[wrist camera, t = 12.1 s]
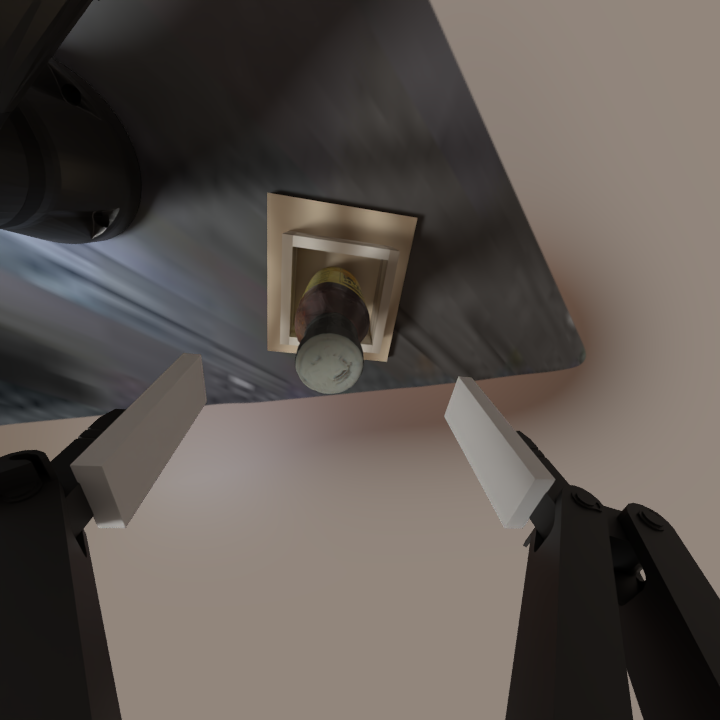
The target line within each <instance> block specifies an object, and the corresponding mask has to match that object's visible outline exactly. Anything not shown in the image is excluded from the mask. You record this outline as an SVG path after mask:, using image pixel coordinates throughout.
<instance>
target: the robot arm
mask: <svg viewBox="0 0 720 720" xmlns="http://www.w3.org/2000/svg"><path fill="white" fill-rule="evenodd" d="M92 1H93V0H0V229H3V230H7V231H11V232H15V233H19V234H23V235H27V236H31V237H35V238H39V239H43V240H47V241H52V242H57V243H65V244H83V243H90V242H98V241H103V240H107V239H110V238H112V237H114V236H116V235H118V234H120V233H121V232H122V231H123V230H125V229H126V228H127V227H128V226H129V224H130V223H131V222H132V220H133V219H134V217H135V215H136V213H137V210H138V207H139V203H140V198H141V176H140V170H139V165H138V161H137V158H136V155H135V152H134V149H133V147H132V144H131V142H130V140H129V137H128V135H127V134H126V132H125V130H124V128H123V126H122V125H121V123H120V121H119V120H118V118H117V117H116V115H115V114H114V113H113V111H112V110H111V108H110V107H109V106H108V105H107V103H106V102H105V101H104V100H103V99H102V98H101V97H100V95H99V94H98V93H97V92H96V91H95V90H94V89H93V88H92V87H91V86H90V85H89V84H87V83H86V82H85V81H84V80H83V79H82V78H80V77H79V76H78V75H77V74H75V73H74V72H73V71H71V70H70V69H68V68H67V67H65V66H64V65H62V64H60V63H59V62H57V61H55V60H53V59H51V57H52V56H53V55H54V53H55V52H56V50H57V49H58V48H59V46H60V45H61V44H62V42H63V41H64V39H65V38H66V37H67V35H68V34H69V33H70V31H71V30H72V28H73V27H74V26H75V24H76V23H77V22H78V20H79V19H80V17H81V16H82V15H83V13H84V12H85V11H86V9H87V8H88V6H89V5H90V4H91V2H92ZM98 1H99V0H98ZM206 402H207V399H206V391H205V383H204V375H203V367H202V359H201V355H199V354H187V353H183V354H182V355H181V356H180V357H179V358H178V359H177V360H176V361H175V362H174V363H173V364H172V365H171V366H170V367H169V368H168V369H167V370H166V371H165V372H164V373H163V374H162V375H161V376H160V377H159V378H158V379H157V380H156V381H155V382H154V383H153V384H152V385H151V386H150V387H149V388H148V389H147V390H146V391H145V392H144V393H143V394H142V395H141V396H140V397H139V398H138V399H137V400H136V401H135V402H134V403H133V404H132V405H131V406H130V407H129V408H127V409H114V410H113V411H111V412H109V413H107V414H105V415H103V416H101V417H100V418H98V419H97V420H96V421H95V422H94V423H93V424H92V425H91V426H90V427H89V428H88V430H85V431H84V432H83V433H82V434H81V435H80V436H79V437H78V439H76V440H74V441H73V442H72V443H71V444H70V445H69V446H68V447H66V448H65V449H64V450H63V451H62V452H61V453H60V454H59V455H58V456H56V457H55V458H54V459H53V460H52V461H51V462H50V461H49V459H48V457H47V455H46V454H45V453H44V452H41V451H38V450H25V451H19V452H15V453H11V454H8V455H5V456H2V457H0V720H122V719H121V714H120V708H119V703H118V698H117V693H116V687H115V682H114V677H113V672H112V666H111V661H110V656H109V651H108V646H107V640H106V635H105V630H104V625H103V620H102V614H101V609H100V605H99V599H98V594H97V588H96V584H95V578H94V573H93V567H92V562H91V557H90V552H89V547H88V541H87V536H86V533H85V532H84V527H85V526H86V525H87V523H88V522H89V521H90V520H91V518H92V517H94V519H95V522H96V524H97V526H98V528H126V526H127V525H128V523H129V522H130V520H131V519H132V517H133V516H134V514H135V512H136V511H137V509H138V508H139V506H140V504H141V503H142V502H143V500H144V498H145V497H146V495H147V494H148V492H149V491H150V489H151V488H152V486H153V484H154V483H155V481H156V480H157V478H158V477H159V475H160V474H161V472H162V470H163V469H164V467H165V466H166V464H167V463H168V461H169V459H170V458H171V456H172V455H173V453H174V451H175V450H176V449H177V447H178V446H179V444H180V442H181V441H182V439H183V438H184V436H185V434H186V433H187V432H188V430H189V429H190V427H191V425H192V424H193V422H194V421H195V419H196V417H197V416H198V414H199V413H200V411H201V410H202V408H203V407H204V405H205V404H206ZM444 417H445V419H446V421H447V422H448V424H449V426H450V428H451V430H452V432H453V433H454V435H455V437H456V439H457V441H458V443H459V445H460V446H461V448H462V450H463V452H464V454H465V456H466V458H467V459H468V461H469V463H470V465H471V467H472V469H473V471H474V472H475V474H476V476H477V478H478V480H479V482H480V483H481V485H482V487H483V489H484V491H485V493H486V494H487V496H488V498H489V500H490V502H491V504H492V506H493V508H494V510H495V511H496V513H497V515H498V517H499V519H500V521H501V522H502V524H503V526H504V528H523V527H524V526H525V524H526V523H527V521H528V520H529V518H530V520H531V521H532V523H533V524H534V526H535V528H534V530H533V531H532V533H531V534H530V535H529V537H528V538H527V539H526V541H525V543H524V545H523V546H525V547H527V546H528V544H529V543H530V547H529V555H528V562H527V569H526V576H525V583H524V591H523V597H522V605H521V612H520V619H519V626H518V633H517V640H516V647H515V654H514V662H513V669H512V676H511V683H510V690H509V697H508V704H507V712H506V719H505V720H633V715H632V708H631V700H630V692H629V684H628V677H627V671H628V674H629V677H630V680H631V683H632V686H633V689H634V692H635V695H636V698H637V701H638V704H639V707H640V710H641V713H642V716H643V719H644V720H720V599H719V597H718V596H717V594H716V593H715V591H714V590H713V588H712V586H711V585H710V584H709V582H708V580H707V579H706V577H705V576H704V574H703V573H702V571H701V570H700V568H699V567H698V565H697V563H696V562H695V560H694V559H693V557H692V556H691V554H690V553H689V551H688V550H687V548H686V547H685V545H684V544H683V542H682V540H681V539H680V537H679V536H678V535H677V533H676V531H675V530H674V528H673V527H672V526H671V525H670V524H669V522H667V521H666V520H665V519H664V518H663V517H662V516H661V515H659V514H658V513H656V512H654V511H653V510H651V509H649V508H647V507H645V506H643V505H640V504H636V503H631V504H628V505H627V506H626V507H625V508H624V509H623V511H619V510H616V509H612V508H609V507H606V506H603V505H602V504H601V503H600V501H599V500H598V499H597V498H596V497H594V496H593V495H592V494H591V493H589V492H587V491H586V490H584V489H582V488H580V487H577V486H573V485H569V484H568V483H567V481H566V480H565V479H564V478H563V477H562V475H561V474H560V473H559V472H558V471H557V470H556V468H555V467H554V466H553V465H552V464H551V463H550V461H549V460H548V459H547V458H545V456H544V454H543V453H542V452H541V451H540V450H538V447H537V446H536V445H535V444H534V443H533V442H532V441H531V439H529V438H528V437H527V436H525V435H524V434H523V433H522V432H520V431H515V430H514V429H513V427H512V426H511V425H510V424H509V423H508V421H507V420H506V419H505V418H504V416H503V415H502V414H501V413H500V412H499V410H498V409H497V408H496V407H495V406H494V404H493V403H492V402H491V401H490V399H489V398H488V397H487V396H486V395H485V393H484V392H483V391H482V390H481V388H480V387H479V386H478V385H477V384H476V382H475V381H474V380H473V379H472V378H471V377H458V379H457V382H456V385H455V388H454V391H453V393H452V396H451V399H450V402H449V405H448V408H447V410H446V413H445V416H444ZM642 569H643V570H644V573H645V576H646V580H645V581H644V580H643V578H642V576H641V574H640V571H641V570H642ZM626 668H627V669H626Z"/></svg>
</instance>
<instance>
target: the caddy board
mask: <svg viewBox="0 0 720 720" xmlns="http://www.w3.org/2000/svg"><path fill="white" fill-rule="evenodd" d="M416 222H417V218H415V217H409V216H403V215H397V214H391V213H385V212H379V211H373V210H367V209H361V208H355V207H349V206H343V205H338V204H332V203H326V202H320V201H314V200H308V199H302V198H296V197H290V196H284V195H278V194H272V193H267V265H268V351H278V352H288V353H297V349H298V346H299V344H300V343H299V342H298V340H297V336H296V332H295V316H296V312H297V309H298V305H299V302H300V300H301V298H302V296H303V294H304V292H305V290H306V288H307V286H308V284H309V282H310V280H311V278H312V277H313V276H314V275H315V274H316V273H317V272H318V271H320V270H322V269H324V268H327V267H339V268H343V269H345V270H347V271H349V272H350V273H351V274H352V275H353V276H354V277H355V278H356V279H357V281H358V283H359V286H360V288H361V291H362V294H363V297H364V300H365V303H366V306H367V309H368V312H369V316H370V325H369V330H368V333H367V335H366V336H365V338H364V339H363V340H362V342H361V343H360V344H361V346H362V350H363V356H364V360H375V361H385V362H387V358H388V353H389V349H390V344H391V339H392V335H393V330H394V325H395V321H396V316H397V311H398V306H399V302H400V297H401V292H402V288H403V283H404V278H405V274H406V269H407V264H408V260H409V255H410V250H411V246H412V241H413V236H414V232H415V227H416Z"/></svg>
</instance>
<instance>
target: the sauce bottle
mask: <svg viewBox="0 0 720 720" xmlns="http://www.w3.org/2000/svg"><path fill="white" fill-rule="evenodd" d="M369 325H370V316H369V312H368V309H367V306H366V303H365V300H364V297H363V294H362V291H361V288H360V286H359V283H358V281H357V279H356V278H355V277H354V276H353V275H352V274H351V273H350V272H349V271H347V270H345V269H343V268H339V267H327V268H324V269H322V270H320V271H318V272H317V273H316V274H315V275H314V276H313V277H312V278H311V280H310V282H309V284H308V286H307V288H306V290H305V292H304V294H303V296H302V298H301V300H300V302H299V305H298V309H297V312H296V316H295V332H296V336H297V340H298V342H299V343H300V344H299V346H298V349H297V353H296V357H295V367H296V371H297V373H298V375H299V377H300V379H301V381H302V382H303V383H304V384H305V385H306V386H308V387H309V388H311V389H312V390H316V391H318V392H321V393H325V394H333V393H339V392H342V391H344V390H347V389H349V388H350V387H352V386H353V385H354V384H355V382H356V381H357V380H358V379H359V377H360V375H361V374H362V371H363V365H364V356H363V350H362V346H361V344H360V343H361V342H362V340H363V339H364V338H365V336H366V335H367V333H368V330H369Z"/></svg>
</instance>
